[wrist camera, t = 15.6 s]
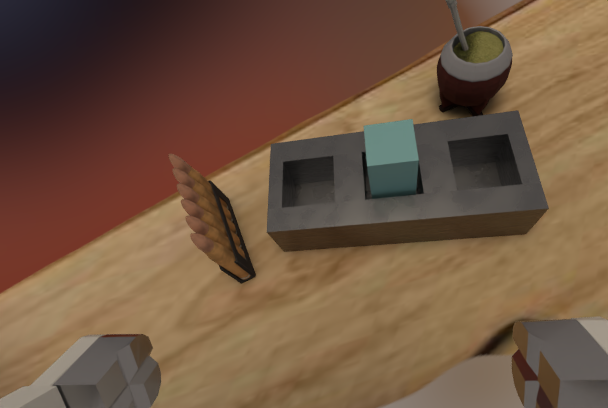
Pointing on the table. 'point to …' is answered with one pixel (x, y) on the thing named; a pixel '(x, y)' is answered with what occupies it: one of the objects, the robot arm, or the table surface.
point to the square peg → (391, 158)
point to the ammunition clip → (212, 221)
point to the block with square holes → (412, 208)
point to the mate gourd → (472, 66)
